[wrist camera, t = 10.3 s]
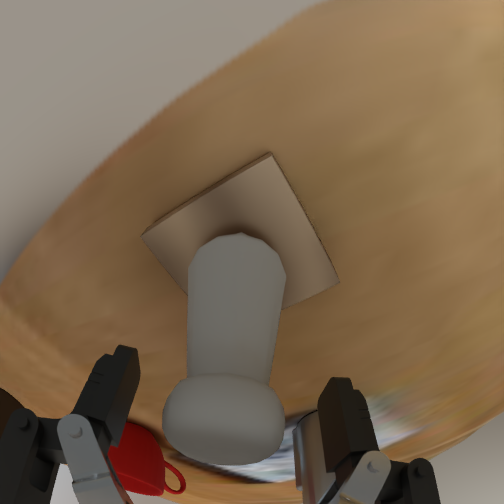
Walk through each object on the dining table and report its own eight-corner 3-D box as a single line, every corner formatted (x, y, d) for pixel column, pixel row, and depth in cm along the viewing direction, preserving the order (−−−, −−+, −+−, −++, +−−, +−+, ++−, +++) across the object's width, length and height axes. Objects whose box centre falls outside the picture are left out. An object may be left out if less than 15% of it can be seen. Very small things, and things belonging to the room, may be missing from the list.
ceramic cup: (174, 459, 43) (167, 504, 34) (91, 423, 38) (75, 468, 29) (208, 444, 38) (202, 498, 29) (107, 400, 33) (87, 458, 24)
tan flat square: (224, 315, 25) (222, 335, 22) (151, 222, 21) (140, 236, 19) (332, 264, 22) (340, 282, 20) (269, 149, 18) (271, 155, 16)
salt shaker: (187, 282, 20) (133, 457, 9) (206, 208, 18) (131, 391, 6) (266, 304, 21) (271, 482, 9) (296, 235, 18) (343, 429, 7)
